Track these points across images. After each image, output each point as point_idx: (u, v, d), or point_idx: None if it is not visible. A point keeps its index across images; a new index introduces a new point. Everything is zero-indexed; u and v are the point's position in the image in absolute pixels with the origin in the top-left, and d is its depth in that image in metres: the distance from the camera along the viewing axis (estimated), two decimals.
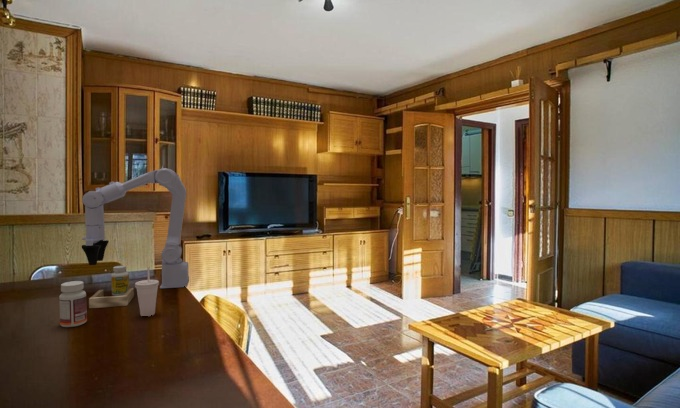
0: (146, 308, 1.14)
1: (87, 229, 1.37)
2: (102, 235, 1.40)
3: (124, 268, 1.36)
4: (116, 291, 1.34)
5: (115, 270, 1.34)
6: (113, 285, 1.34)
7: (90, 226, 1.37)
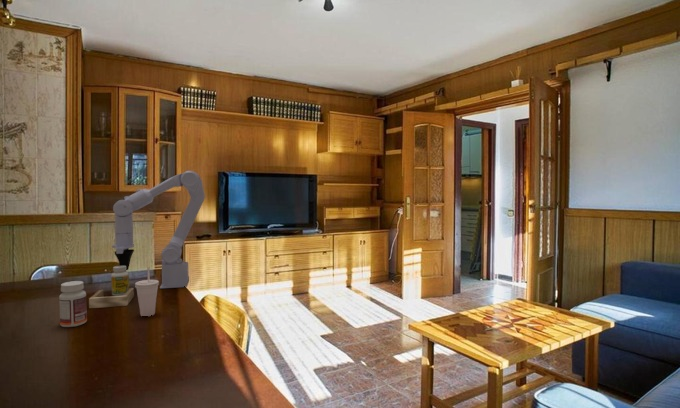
0: (146, 308, 1.14)
1: (117, 237, 1.40)
2: (131, 243, 1.42)
3: (124, 268, 1.36)
4: (116, 291, 1.34)
5: (115, 270, 1.34)
6: (113, 285, 1.34)
7: (120, 234, 1.40)
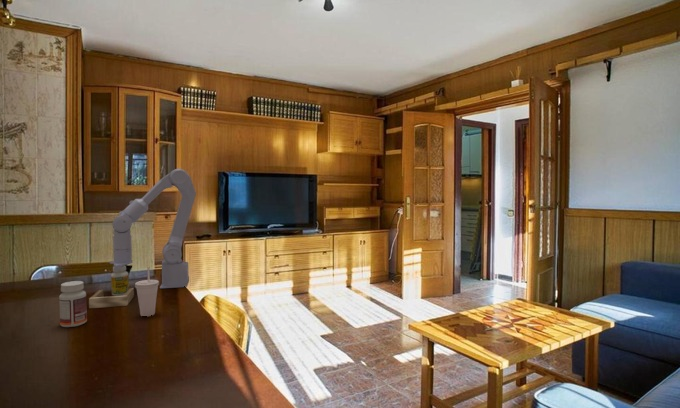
0: (146, 308, 1.14)
1: (115, 253, 1.38)
2: (129, 259, 1.40)
3: (124, 268, 1.36)
4: (116, 291, 1.34)
5: None
6: (113, 285, 1.34)
7: (118, 250, 1.37)
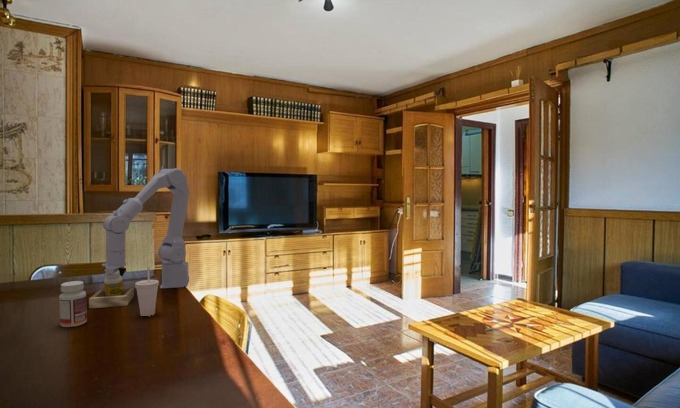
0: (146, 308, 1.14)
1: (107, 255, 1.30)
2: (123, 262, 1.32)
3: (118, 274, 1.28)
4: None
5: (108, 277, 1.27)
6: (107, 291, 1.28)
7: (111, 252, 1.30)
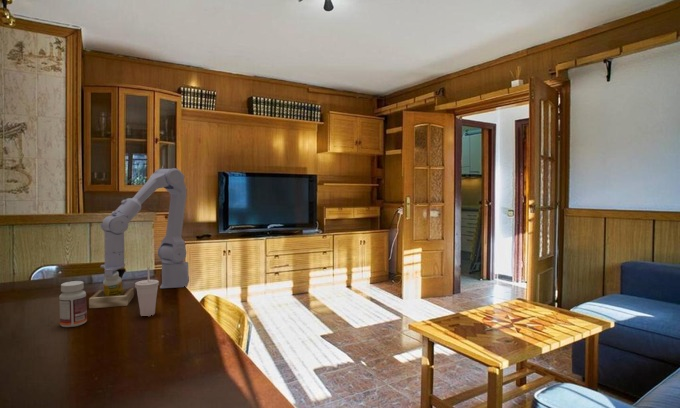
0: (146, 308, 1.14)
1: (106, 257, 1.28)
2: (122, 263, 1.30)
3: (117, 275, 1.26)
4: None
5: (107, 278, 1.25)
6: (106, 293, 1.26)
7: (109, 253, 1.28)
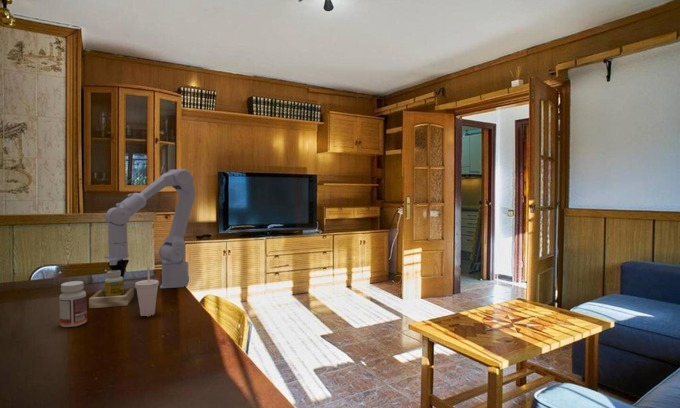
0: (146, 308, 1.14)
1: (110, 247, 1.31)
2: (125, 253, 1.34)
3: (119, 273, 1.29)
4: None
5: (109, 275, 1.27)
6: (107, 291, 1.27)
7: (113, 244, 1.31)
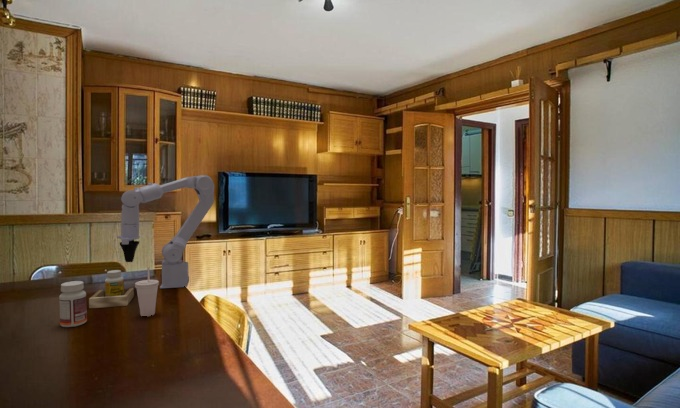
0: (146, 308, 1.14)
1: (123, 228, 1.38)
2: (137, 234, 1.40)
3: (119, 273, 1.29)
4: None
5: (110, 275, 1.27)
6: (108, 291, 1.27)
7: (126, 225, 1.37)
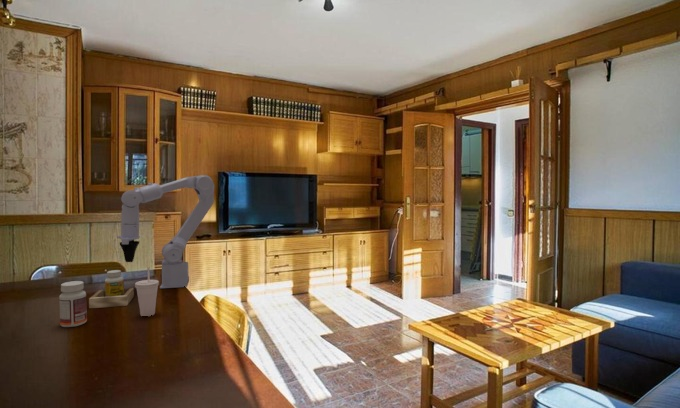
0: (146, 308, 1.14)
1: (123, 228, 1.38)
2: (137, 234, 1.40)
3: (119, 273, 1.29)
4: None
5: (109, 275, 1.27)
6: (107, 291, 1.27)
7: (126, 225, 1.37)
